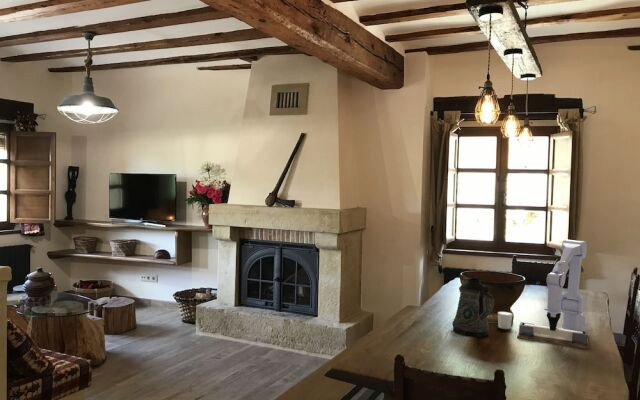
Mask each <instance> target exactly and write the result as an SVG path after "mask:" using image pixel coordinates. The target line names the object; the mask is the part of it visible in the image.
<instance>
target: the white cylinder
mask: <svg viewBox="0 0 640 400" xmlns="http://www.w3.org/2000/svg"><path fill="white" fill-rule="evenodd" d="M512 320H513V313H511V312H508V311H498V312H497V322H498V323H497V325H498V328H499V329H503V330H510V329H511V327H512Z"/></svg>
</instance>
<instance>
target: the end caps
mask: <svg viewBox="0 0 640 400" xmlns="http://www.w3.org/2000/svg"><path fill="white" fill-rule="evenodd" d="M525 323H526V324H533V325H535V323H528V322H522V321H520V323H519V326H518V333H519V335H523V336H530V337H533V335H534V333H533V328H534V327H533V326H526V325H524V324H525ZM574 331H580V330H574ZM581 332H583V334H581V333H574V332H573V333H572V343H576V344H582V345H587V341H589V339H588V338H589V337H588V331H586V330H585V331H581Z"/></svg>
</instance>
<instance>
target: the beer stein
mask: <svg viewBox="0 0 640 400" xmlns="http://www.w3.org/2000/svg"><path fill="white" fill-rule="evenodd" d="M458 290H459V291H458V292H459V294H460V295H459V298H458V299H459V300H458V303H457V304H458V305H457V310H456V313H455V317H454V319H453V320H452V324H451V325H452V330H453V332H454V333H455V334H457V335H460V336H465V337H471V338H484V337H486V336H487V335H489V330H490V326H489V323H488V317H489V316H490V314H491V313H492V312H493V310H494V306H495V299H494V296H493V294H492V293H491V292H489V287H488V286H487V285H486V284H483V283H481V280H480V279H479V278H474V277H473V278H472V277H471V278H468V280H467V281H466V282H465V283H462V284H461V285H460V286H459V287H458ZM486 302H487V303H486ZM486 304H487V306H486Z"/></svg>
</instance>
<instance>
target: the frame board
mask: <svg viewBox="0 0 640 400" xmlns="http://www.w3.org/2000/svg"><path fill="white" fill-rule="evenodd" d="M516 338H517V339H521V340H527V341H528V340H529V341H534V342H542V343H548V344H553V345H554V344H555V345H561V346H567V347H574V348H580V349H586V350H587V349H589V340H587V345H582V344H576V343H572V339H571V338H565V337H558V336H551V335H545V334H538V333H534V335H533V337H530V336H523V335H519V332H517V336H516Z"/></svg>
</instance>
